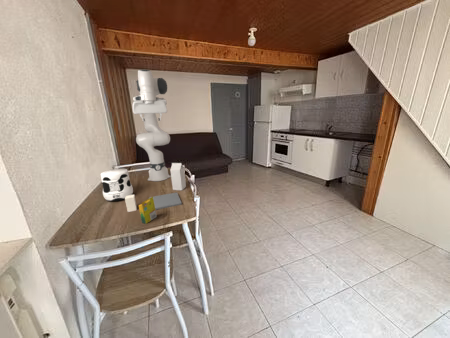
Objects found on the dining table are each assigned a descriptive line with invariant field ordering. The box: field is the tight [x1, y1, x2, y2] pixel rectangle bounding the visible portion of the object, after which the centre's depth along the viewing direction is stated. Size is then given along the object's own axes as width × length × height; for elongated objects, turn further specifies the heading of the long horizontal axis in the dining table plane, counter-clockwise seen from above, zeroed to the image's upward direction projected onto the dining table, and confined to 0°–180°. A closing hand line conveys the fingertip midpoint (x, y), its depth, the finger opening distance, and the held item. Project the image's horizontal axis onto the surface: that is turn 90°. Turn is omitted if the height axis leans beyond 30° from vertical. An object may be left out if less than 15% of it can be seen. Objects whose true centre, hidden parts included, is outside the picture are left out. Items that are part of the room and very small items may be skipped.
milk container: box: [100, 168, 134, 202], centre depth 123 cm, size 17×17×18 cm
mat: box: [148, 191, 182, 211], centre depth 116 cm, size 18×18×1 cm
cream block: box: [124, 194, 138, 213], centre depth 107 cm, size 4×4×8 cm
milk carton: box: [169, 162, 187, 191], centre depth 134 cm, size 7×7×19 cm
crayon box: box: [138, 196, 158, 225], centre depth 94 cm, size 7×3×12 cm, turn 155°
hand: (151, 121), depth 120 cm, fingers open, 8 cm apart
